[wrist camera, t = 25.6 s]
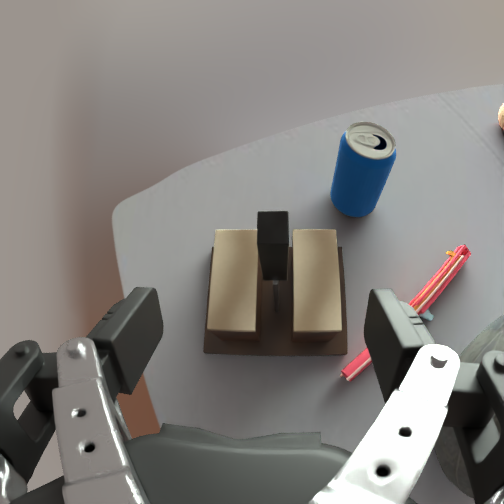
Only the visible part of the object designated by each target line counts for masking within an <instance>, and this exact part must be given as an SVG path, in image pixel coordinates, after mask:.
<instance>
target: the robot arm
mask: <svg viewBox="0 0 504 504" xmlns="http://www.w3.org/2000/svg"><path fill="white" fill-rule="evenodd" d="M162 335H163V320H162V315H161V310H160V305H159V300H158V295H157V291H156V289H155V288H145V287H136V288H134V289H133V291H132V292H131V293H130V294H129V295H128V296H127V298H126V299H123V300H121V301H119V302H118V303H116V304H114V305H113V306H112V307H111V309H110V310H109V311H108V312H107V314H105V315H104V317H103V318H102V320H100V321H99V322H98V324H97V325H96V326H95V327H94V328H93V330H92V331H91V332H90V333H89V334H88V335H87V337H86V338H85V337H78V338H74V339H70V340H68V341H66V342H65V343H63V344H62V345H61V346H60V347H59V348H58V350H57V352H56V353H42V352H41V350H40V347H39V345H38V343H37V342H35V341H32V340H27V341H22V342H19V343H17V344H15V345H14V346H13V347H12V348H10V349H9V351H8V352H7V353H6V354H5V355H4V356H3V357H2V358H1V359H0V504H418V503H416V502H415V501H414V500H412V499H411V498H410V497H409V495H410V493H411V491H412V490H413V488H414V486H415V484H416V482H417V480H418V478H419V476H420V474H421V472H422V470H423V468H424V466H425V464H426V462H427V460H428V457H429V455H430V453H431V451H432V449H433V446H434V444H435V442H436V439H437V437H438V434H439V432H440V429H441V427H442V426H445V427H453V430H454V432H455V435H456V438H457V441H458V444H459V447H460V451H461V454H462V457H463V460H464V463H465V467H466V470H467V474H468V477H469V481H470V484H471V488H472V492H473V496H474V500H475V504H504V352H502V351H497V350H493V351H489V352H487V353H485V355H484V356H483V358H482V361H481V363H480V364H477V363H466V362H460V360H459V357H458V355H457V354H456V353H455V352H454V351H453V350H451V349H450V348H448V347H445V346H442V345H437V344H436V343H435V341H434V339H433V338H432V336H431V334H430V333H429V331H428V330H427V328H426V327H425V325H423V322H422V320H421V319H420V318H419V316H418V314H417V313H416V311H415V310H414V308H413V307H411V306H410V305H409V304H407V303H406V302H404V301H399V300H398V299H397V297H396V296H395V294H394V292H393V291H392V289H372V290H371V291H370V294H369V300H368V306H367V313H366V319H365V325H364V338H365V343H366V345H367V348H368V351H369V354H370V357H371V360H372V363H373V366H374V369H375V372H376V375H377V379H378V382H379V385H380V388H381V391H382V394H383V398H384V401H385V404H386V405H385V407H384V408H383V410H382V412H381V413H380V415H379V416H378V418H377V419H376V421H375V422H374V424H373V425H372V427H371V428H370V430H369V431H368V433H367V434H366V436H365V437H364V439H363V440H362V442H361V443H360V444H359V446H358V447H357V448H356V450H355V451H354V453H351V452H348V451H346V450H344V449H342V448H339V447H336V446H332V445H328V444H323V443H321V435H320V432H315V433H278V434H273V435H267V436H261V437H255V438H248V439H240V440H239V439H233V438H229V437H226V436H222V435H219V434H216V433H213V432H210V431H206V430H203V429H200V428H194V427H186V426H179V425H172V424H165V423H163V424H162V427H161V430H160V432H159V433H158V434H149V435H144V436H140V437H137V438H134V439H132V438H131V436H130V433H129V430H128V428H127V425H126V423H125V420H124V417H123V414H122V412H121V409H120V406H119V403H118V401H117V399H116V396H117V395H118V393H124V394H129V395H131V394H132V392H133V390H134V388H135V386H136V384H137V382H138V381H139V379H140V377H141V375H142V373H143V371H144V369H145V368H146V366H147V364H148V362H149V360H150V358H151V356H152V354H153V353H154V351H155V349H156V347H157V345H158V343H159V342H160V340H161V338H162ZM24 390H25V392H26V394H27V396H28V397H29V399H30V400H31V401H30V403H29V404H28V405H27V407H26V408H25V410H24V411H23V413H22V415H21V416H20V417H19V419H18V420H17V419H16V418H15V416H14V413H13V407H14V404H15V402H16V400H17V399H18V397H19V396H20V395H21V394H22V392H23V391H24ZM494 413H495V414H496V417H497V419H498V421H499V423H500V426H501V435H500V434H499V432H498V429H497V427H496V425H495V423H494V420H493V418H492V417H493V415H494ZM55 430H56V433H57V440H58V446H59V452H60V457H61V463H62V468H63V473H64V475H63V476H61V477H59V478H58V479H55V480H53V481H52V482H50V483H47V484H45V485H43V486H41V487H39V488H37V489H35V490H33V491H30V492H28V493H27V483H28V482H29V479H30V477H31V475H32V473H33V471H34V469H35V467H36V466H37V464H38V462H39V460H40V457H41V456H42V454H43V452H44V450H45V448H46V446H47V445H48V442H49V441H50V439H51V437H52V435H53V433H54V432H55Z"/></svg>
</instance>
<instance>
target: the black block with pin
mask: <svg viewBox="0 0 504 504" xmlns="http://www.w3.org/2000/svg"><path fill="white" fill-rule="evenodd" d="M257 248H258V254H259V260H260V266H261V271H262V277H263V280H264V281H273V293H274V304H275V312H279V281H287V277H288V255H289V218H288V211H258V218H257Z"/></svg>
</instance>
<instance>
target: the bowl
mask: <svg viewBox="0 0 504 504" xmlns="http://www.w3.org/2000/svg"><path fill="white" fill-rule="evenodd" d="M493 350H497V351H502V352H504V315H503V316H501V317H500V318H498V319H497V320H495V321H494V322H493V323H491V324H490V325H489V326H488V327H487V328H486V329H485V330H483V331H482V332H481V333H480V334H479V335H478V336H477V337H476V338H475V339H474V340H473V341H472V342H471V343H470V344H469V345H468V346H467V347H466V349H465V350H464V351H463V352H462V354H461V355H460V357H459V360H460V362H466V363H477V364H480V363H481V361H482V358H483V356H484V355H485V353H487V352H489V351H493ZM492 418H493V420H494V423H495V425H496V427H497V429H498V432H499V434H500V435H501V426H500V423H499V421H498V419H497V417H496V414H495V413H494V415H493V417H492ZM434 447H435V452H436V455H437V458H438V461H439V463H440V465H441V467H442V470H443V472H444V473H445V475H446V477H447V478H448V479H449V480H450V481H451V482H452V483H453V484H454V485H455V486H457V487H458V488H459V489H460V490H461V491H462V492H463V493H465V494H466V495H467V496H469V497H471V498H474V496H473V492H472V488H471V484H470V481H469V477H468V474H467V470H466V467H465V463H464V460H463V457H462V454H461V451H460V447H459V444H458V441H457V438H456V435H455V432H454V430H453V427H445V426H442V427H441V429H440V432H439V434H438V437H437V439H436V442H435V444H434Z"/></svg>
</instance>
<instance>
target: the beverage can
mask: <svg viewBox="0 0 504 504" xmlns="http://www.w3.org/2000/svg"><path fill="white" fill-rule="evenodd" d="M395 147H396V144H395V140H394V138H393V136H392V135H391V134H390V133H389V132H388V131H387V130H386V129H385V128H383V127H381V126H379V125H377V124H374V123H371V122H358V123H354V124H352V125H351V126H349V128H348V129H347V131H346V132H345V133H344V134H343V136H342V137H341V141H340V146H339V152H338V157H337V162H336V167H335V173H334V178H333V182H332V187H331V193H330V195H331V200H332V202H333V204H334V206H335V207H336V208H337V209H338V210H339V211H340V212H342V213H343V214H345V215H348V216H351V217H363V216H366V215H368V214H369V213H371V212H372V211H373V210H374V208H375V206H376V204H377V201H378V199H379V197H380V194H381V192H382V190H383V188H384V185H385V183H386V180H387V178H388V176H389V173H390V171H391V168H392V166H393V164H394V161H395V159H396V148H395Z"/></svg>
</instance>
